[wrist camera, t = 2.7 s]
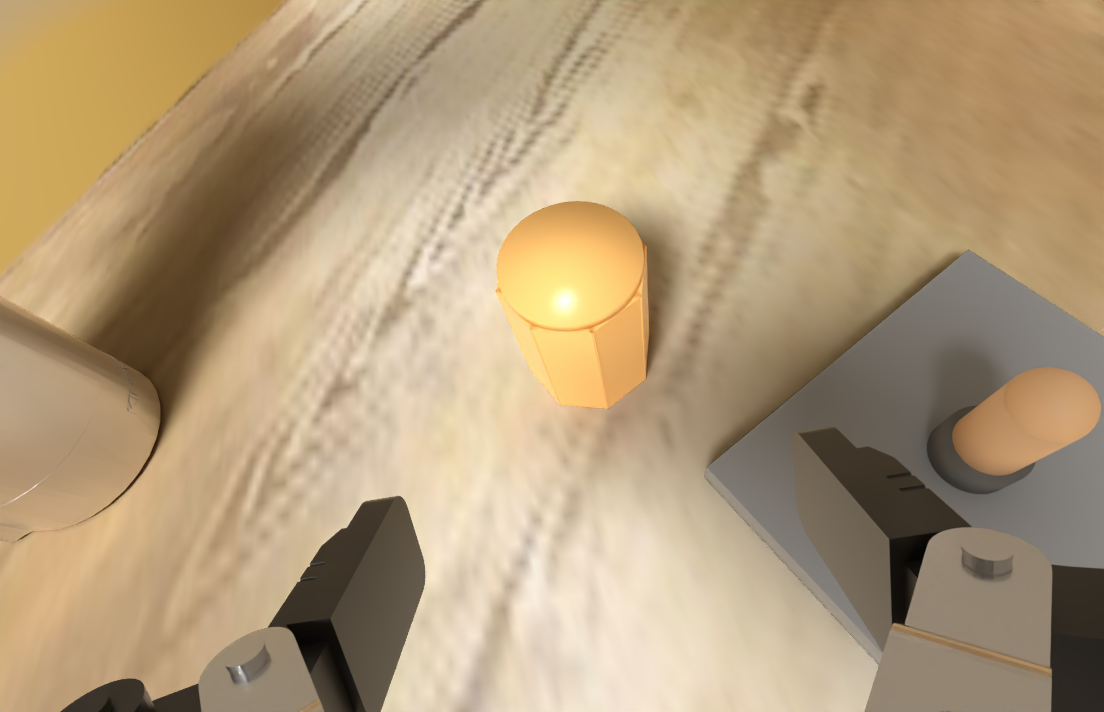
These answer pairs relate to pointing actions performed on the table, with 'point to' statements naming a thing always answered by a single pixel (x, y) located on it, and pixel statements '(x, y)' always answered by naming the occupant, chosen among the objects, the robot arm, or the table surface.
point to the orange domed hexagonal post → (578, 301)
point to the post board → (915, 396)
